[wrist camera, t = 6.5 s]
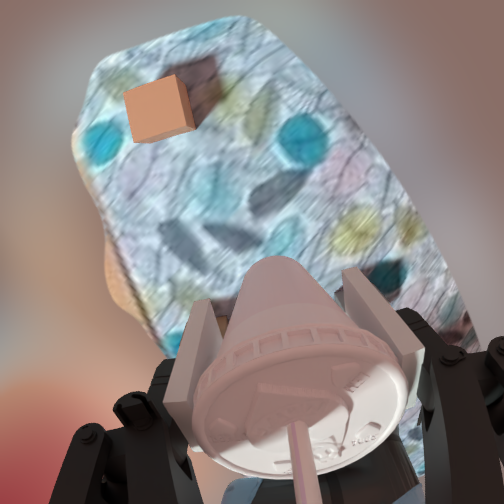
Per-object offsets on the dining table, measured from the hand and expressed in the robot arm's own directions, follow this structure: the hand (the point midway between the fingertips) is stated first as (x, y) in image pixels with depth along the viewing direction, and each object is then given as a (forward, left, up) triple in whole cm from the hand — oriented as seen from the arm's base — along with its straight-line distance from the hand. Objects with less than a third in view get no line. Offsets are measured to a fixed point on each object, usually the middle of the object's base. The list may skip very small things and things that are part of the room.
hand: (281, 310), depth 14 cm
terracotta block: (+13, +7, -19) cm, 24 cm away
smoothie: (0, 0, -3) cm, 3 cm away
